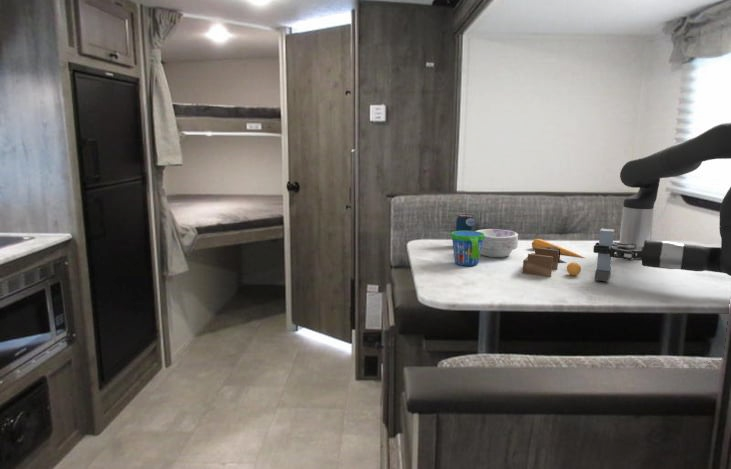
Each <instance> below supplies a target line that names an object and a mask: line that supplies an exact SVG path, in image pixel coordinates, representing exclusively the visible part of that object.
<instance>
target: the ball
mask: <svg viewBox="0 0 731 469" xmlns="http://www.w3.org/2000/svg"><path fill="white" fill-rule="evenodd" d="M581 271H582V267H581V265H580V264H579V263H578V262H575V261H573V262H569V263H568V264H567V266H566V272H567V273H568V274H569V275H570V276H579V274H580V273H581Z"/></svg>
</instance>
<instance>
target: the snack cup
mask: <svg viewBox="0 0 731 469" xmlns="http://www.w3.org/2000/svg"><path fill="white" fill-rule="evenodd" d="M450 237H451V240H452V249H453V257H454V263H455V264H457V265H459V266H463V267H472V266H477V265H478V264H479V261H480V258H481V257H480V256H481V254H480V253H481V248H482V242H483V240H484V238H485V235H484V233H482V232H477V230H475V231H456V230H455V231H451V233H450Z"/></svg>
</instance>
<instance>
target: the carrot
mask: <svg viewBox="0 0 731 469" xmlns="http://www.w3.org/2000/svg"><path fill="white" fill-rule="evenodd" d="M536 247H537V248H545V249H547V247H557V248H559V249H560V255H564V256H569V257H573V258H574V257H575V258H581V259H583V258H584V259H585V257H584V256H582V255H580V254H577V253H576V252H573V251H571V250H569V249H566V248H563V247H561V246H558V245H556V244H554V243H551V242H549V241H547V240H546V241H545V240H543V239H541V238H535V239H533V241H532V242H531V248H532V249H533V250H534V251H535V248H536Z"/></svg>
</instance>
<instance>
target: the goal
mask: <svg viewBox="0 0 731 469" xmlns="http://www.w3.org/2000/svg"><path fill="white" fill-rule="evenodd" d="M558 257H559V250H554V249H545V248H537V247H536V248H535V250H534V253H533V252H531V253H528V254H527V257H525V258H524V259H523V262H522V263H523V264H522V274H527V275H534V276H541V277H547V278H551V277H552V270H558V267H559V263H558Z"/></svg>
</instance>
